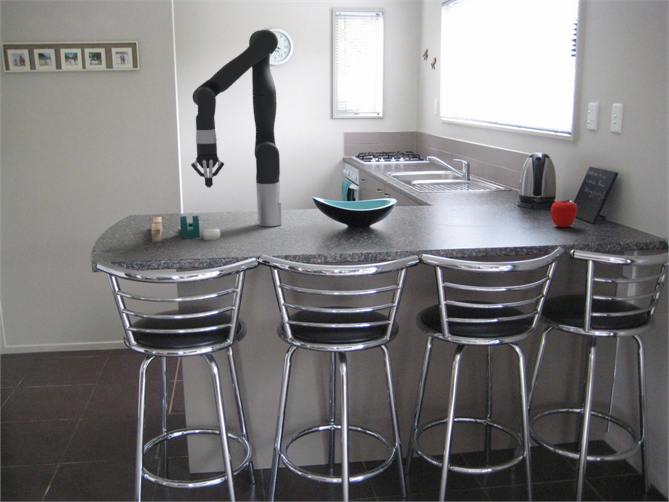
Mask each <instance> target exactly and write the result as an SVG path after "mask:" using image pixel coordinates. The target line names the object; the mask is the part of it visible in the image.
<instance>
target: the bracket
mask: <svg viewBox="0 0 669 502" xmlns="http://www.w3.org/2000/svg"><path fill="white" fill-rule="evenodd" d="M191 217H192V219H191V220H192V222H188V220H187V215H181V216H179V223H180V238H181V239H195V238H200V237H201V234H200V233H201V232H200V229H201V228H200V219H199V218H200V217H199V215H192V216H191Z"/></svg>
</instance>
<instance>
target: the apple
mask: <svg viewBox="0 0 669 502" xmlns="http://www.w3.org/2000/svg"><path fill="white" fill-rule="evenodd" d="M578 210H579V209H578V205H577V204H576V203H574V202H573V201H569V200H568V201H567V200H557V201H554V202H553V203H552V205H551V208H550V217H551V220H552V223H553V224H554V225H555V226H556V227H558V228H569V227H571V226H572V225H573V224H574V221H575V220H576V217H577V215H578V212H579V211H578Z"/></svg>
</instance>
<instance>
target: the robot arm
mask: <svg viewBox="0 0 669 502" xmlns="http://www.w3.org/2000/svg"><path fill="white" fill-rule="evenodd" d="M278 45H279V40H278V36H277V34H276V33H275V32H274V31H272V30H270V29H261V30H255V31H254V32H253V33H252V34H251V36H250V37H249V40H248V47H247V48H246V49H245V50H243V52H241V53H239V55H238V56H236V57H234V58H233V59H231V60H230V61H228V62H227V63H225V65H223V66H222V67H221V68H220V69H218V70H217V71H216V72H215V73H214V74H213V75H212V76H211V77H210V78H209V79H206V81H204V82H203V83H202V84H201V85H199V86H198V87H197V88H195V90H194V91H193V93H192V101H193V103H194V104H195V105H196V106H197V114H196V116H195V132H196V133H195V142H196V158H195V161H193V162H192V163H190V166H191V167H192V168H193V170H194V171H195V172H196V173H197V174H198V175H199V176H200V177H203V178H204V186H205V187H206V188H208V189H209V188H212V187H213V184H214V183H213V178H214V177H216V176H218V174H219V173H220V171H221V170H222V169H223V167H224V166H225V162H223V161H222V160H220V159H219V156H218V145H217V132H216V122H215V121H216V120H215V115H216V107H217V106H216V105H217V96H218V95H219V94H221V93H223V92H226V91H227V90H228V89H229V88H230V87H231V86H232V85H233V84H235V82H237V80H239V79H240V78H241V77H242V76H243V75H244V74H246V72H248V71H249V70H250V69H251V73H252V74H251V77H252V78H251V79H252V80H251V81H252V82H251V83H252V84H251V85H252V109H253V110H252V111H253V118H254V119H253V120H254V126H255V143H254V157H255V166H256V172H255V182H256V183H255V184H256V208H257V209H256V210H257V225H258V226H260V227H277V226H282V224H283V223H282V221H283V220H282V201H281V193H280V192H281V190H280V188H281V187H280V176H281V170H280V169H281V167H280V166H281V165H280V150H279V149H278V147H277V144H276V139H275V138H276V136H275V125H276V124H275V123H276V116H277V105H278V104H277V88H276V85H275V82H274V78H273V75H272V70H271V62H270V61H271V60H270V58H271V54H273V53H274V52H275V51H276V50H277V48H278ZM216 165H217V168H215V166H216ZM199 166H200V168H201V169H203V172H202V171H201V170H200V169H199ZM214 168H215V169H214ZM213 169H214V170H213ZM213 171H214V172H213Z"/></svg>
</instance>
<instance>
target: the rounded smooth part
mask: <svg viewBox="0 0 669 502" xmlns="http://www.w3.org/2000/svg"><path fill="white" fill-rule="evenodd" d="M202 239H203V240H204V241H217V240H220V239H221V228H220V227H206V228H203V229H202Z"/></svg>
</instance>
